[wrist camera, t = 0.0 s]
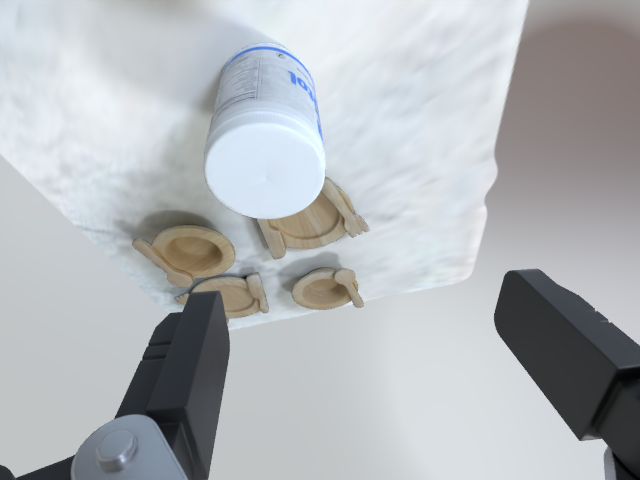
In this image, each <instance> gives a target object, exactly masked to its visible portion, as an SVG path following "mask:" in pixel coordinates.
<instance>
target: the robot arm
mask: <svg viewBox="0 0 640 480" xmlns="http://www.w3.org/2000/svg"><path fill="white" fill-rule="evenodd" d="M494 322H495V327H496V330H497V332H498V334H499V335H500V337H501V338H502V340H503V341H504V342H505V343H506V345H507V346H508V347H509V349H510V350H511V351H512V353H513V354H514V355H515V356H516V358H517V359H518V361H519V362H520V363H521V364H522V366H523V367H524V368H525V370H526V371H527V372H528V374H529V375H530V376H531V378H532V379H533V380H534V381H535V383H536V384H537V386H538V387H539V388H540V389H541V391H542V392H543V393H544V395H545V396H546V397H547V399H548V400H549V401H550V403H551V404H552V405H553V407H554V408H555V409H556V410H557V411H558V413H559V414H560V416H561V417H562V418H563V420H564V421H565V422H566V424H567V425H568V426H569V428H570V429H571V430H572V432H573V433H574V434H575V435H576V437H577V438H578V439H579V441H585V440H594V439H603V440H604V441H605V442H606V444H607V445H608V447H607V449H606V450H605V453H604V469H605V480H640V346H639V345H638V344H637V343H636V342H634V341H633V340H632V339H631V338H630V337H628V336H627V335H626V334H625V333H624V332H622V331H621V330H620V329H619V328H617V327H616V326H615V325H614V324H613V323H609V322H608V319H607V318H605V317H604V316H603V315H602V314H600V313H599V312H598V311H596V312H595V308H593V307H592V306H591V305H589V303H587V302H586V301H585V300H584V299H582V298H581V297H580V296H579V295H576V294H575V293H573V292H571V291H569V290H567V289H565V288H563V287H561V286H560V285H558V284H556V283H555V282H554V281H553V280H552V279H550V278H549V277H548V276H547V275H546V274H545V273H543V272H542V271H541V270H539V269H527V270H512V271H508V272H507V273H506V274H505V276H504V280H503V283H502V287H501V291H500V294H499V298H498V302H497V306H496V309H495V313H494ZM229 352H230V340H229V332H228V326H227V321H226V315H225V310H224V304H223V299H222V294H221V292H220V291H219V290H218V291H204V292H191V293H190V294H189V296H188V299H187V302H186V304H185V307H184V310H183V312H177V313H170V314H169V315H168V316H167V317H166V318H165V319H164V320H163V321H162V322H161V323H160V324H159V325H158V326H157V327H156V328H155V330H154V332H153V335H152V337H151V339H150V342H149V346H148V347H147V348H146V350H145V352H144V355H143V357H142V358H143V359H142V361H140V364H139V366H138V368H137V370H136V372H135V374H134V377H133V379H132V381H131V383H130V385H129V388H128V390H127V392H126V394H125V397H124V399H123V401H122V403H121V405H120V408H119V410H118V412H117V414H116V416H115V418H114V420H112V421H110V422H108V423H106V424H104V425H103V426H101V427H100V428H98V429H97V430H96V431H95V432H94V433H92V434H91V435H90V436H89V437H88V438H87V439H86V440H85V441H84V443H83V444H82V445H81V446H80V448H79V449H78V451H77V453H76V454H75V455H73V456H72V457H69V458H67V459H65V460H62V461H60V462H57V463H54V464H52V465H49V466H46V467H44V468H41V469H39V470H36V471H33V472H31V473H28V474H26V475H23V476H20V477H18V478H15V477H14V475H13V474H12V473H11V471H10V470H9V469H8V468H6V467H5V466H2V465H0V480H208V477H209V471H210V465H211V459H212V453H213V448H214V441H215V436H216V430H217V424H218V418H219V413H220V406H221V401H222V395H223V389H224V383H225V377H226V372H227V366H228V359H229Z"/></svg>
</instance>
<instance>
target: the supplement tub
mask: <svg viewBox="0 0 640 480" xmlns="http://www.w3.org/2000/svg"><path fill="white" fill-rule="evenodd" d="M325 163H326V161H325V152H324V144H323V138H322V131H321V125H320V119H319V112H318V106H317V100H316V94H315V88H314V83H313V79H312V76H311V73H310V71H309V70H308V68H307V66H306V65H305V64H304V62H303V61H302V60H301V59H300V58H299V57H298V56H297V55H295V54H294V53H293V52H291V51H290V50H288V49H286V48H284V47H282V46H279V45H276V44H270V43H258V44H253V45H249V46H247V47H244V48H242V49H241V50H239V51H238V52H236V53H235V54H234V55H233V56H232V57H231V58H230V59H229V61H228V62H227V64H226V66H225V68H224V70H223V73H222V76H221V81H220V85H219V89H218V94H217V98H216V103H215V107H214V111H213V116H212V120H211V124H210V129H209V133H208V137H207V142H206V147H205V152H204V175H205V179H206V182H207V185H208V187H209V189H210V191H211V192H212V194H213V195H214V196H215V197H216V198H217V199H218V200H219V201H220V202H221V203H222V204H223V205H225V206H226V207H227V208H229V209H231V210H232V211H234V212H236V213H239V214H242V215H244V216H248V217H252V218H258V219H277V218H283V217H287V216H290V215H293V214H295V213H297V212H299V211H301V210H303V209H304V208H306V207H307V206H309V205H310V204H311V203H312V202H313V201H314V200H315V199H316V197H317V196H318V194H319V193H320V191H321V189H322V187H323V183H324V179H325Z"/></svg>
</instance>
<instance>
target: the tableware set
mask: <svg viewBox="0 0 640 480" xmlns="http://www.w3.org/2000/svg"><path fill="white" fill-rule="evenodd" d="M257 221H258V223H259V226H260V228H261V230H262V233H263V235H264V237H265V240H266V242H267V245H268V247H269V249H270V252H271V254H272V257H273V259H280V258H282V257H284V256H285V254H286V248H285V246H286V247H290V248H296V249H313V248H319V247H323V246H326V245H328V244H331V243H333V242H334V241H336V240H338V239H339V238H340V237H342V236H343V235H344V234H345V233H346V232H348V233H349V235H350V236H351V237H352V238H353V237H356V236H357V235H356V234H357V233H358V234H359V235H360V234H362V231H364V232H367V231H370V229H369V227H368V225H367V224H366V223H365V221H364V220H363V218H362V217H361V216H358V215H355V214H354V209H353V205H352V202H351V200H350V199H349V197H348V196H347V194H346V193H345V192H344V191H342V190H341V189H340V188H338V187H337V186H335V185H334V184H333V182H332V180H331V179H330V178H328V177H325V179H324V183H323V187H322V189H321V191H320V193H319V194H318V196H317V197H316V199H315V200H314V201H313V202H312V203H311V204H310V205H309V206H307V207H306V208H304V209H303V210H301V211H299V212H297V213H295V214H293V215H290V216H287V217H283V218H277V219H258V218H257ZM132 246H133V247H134V248H135V249H137V250H138V251H139V252H140V253H142V254H143V255H144V256H146V257H147V258H148V259H150V260H151V261H152V262H153V263H155V264H156V265H157V266H159V267H160V268H161V269H163V270H164V271H165V272H166V273H167V280H168V281H169V282H170V283H171V284H172V285H174V286H177V287H182V288H185V287H190V286H191V285H192V284H193V278H208V277H213V276H216V275H219V274H222V273H224V272H225V271H227V270H228V269H229V268H230V267H231V266H232V265H233V263H234V260H235V250H234V247H233V245H232V243H231V242H230V241H229V240H228V239H227V238H226V237H225V236H223V235H222V234H220V233H219V232H217V231H215V230H212V229H210V228H206V227H203V226H197V225H179V226H174V227H171V228H168V229H165V230H163V231H162V232H160V233H159V234H158V235H157V236H156V237H155V238H154V239H153V241H152V244H151V245H149V244H148V243H147V242H146V241H145V240H143V239H140V238H138V239H134V240H133V242H132ZM218 290H219V291H220V292H221V294H222V299H223V304H224V310H225V315H226V321H227V323H228V322H229V319H228V318H241V317H246V316H249V315H252V314H254V313H256V312H258V311H259V310H261V312H262V313H268V312H269V307H268V304H267V300H266V295H265V292H264V290H263V286H262V282H261V278H260V275H259V273H258V272H257V273H251V274H249V275H248V276H247V278H246V280H245V279H242V278H238V277H216V278H210V279H207V280H204V281H202V282H200V283H199V284H197V285H196V286H195V287H194V288H193V290H192V292H204V291H218ZM188 296H189V294H188V293H185V294H183V296H182V295H180V296H179V297H175V298H174V300H176V301H177V302H179V303H181V304H183V305H185V304H186V302H187V299H188ZM292 298H293V299H294V301H295V302H296V303H298V304H299V305H301V306H303V307H306V308H310V309H317V310H326V309H333V308H337V307H340V306H342V305H344V304H346V303H348V302H350V301H351V300H352V302H353V305H354V306H355V307H357V308H361V307H363V306H364V304H363V300H362V299H361V297H360V295H359V294H358V284H357V282H356V280H355V273H354V272H353V271H352V270H350V269H340V270H336V269H333V268H319V269H316V270H313V271H311V272H310V273H309V274H307V276H304V277H303V278H301V279H300V280H298V281H297V282H296V283H295V285H294V286H293V288H292Z"/></svg>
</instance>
